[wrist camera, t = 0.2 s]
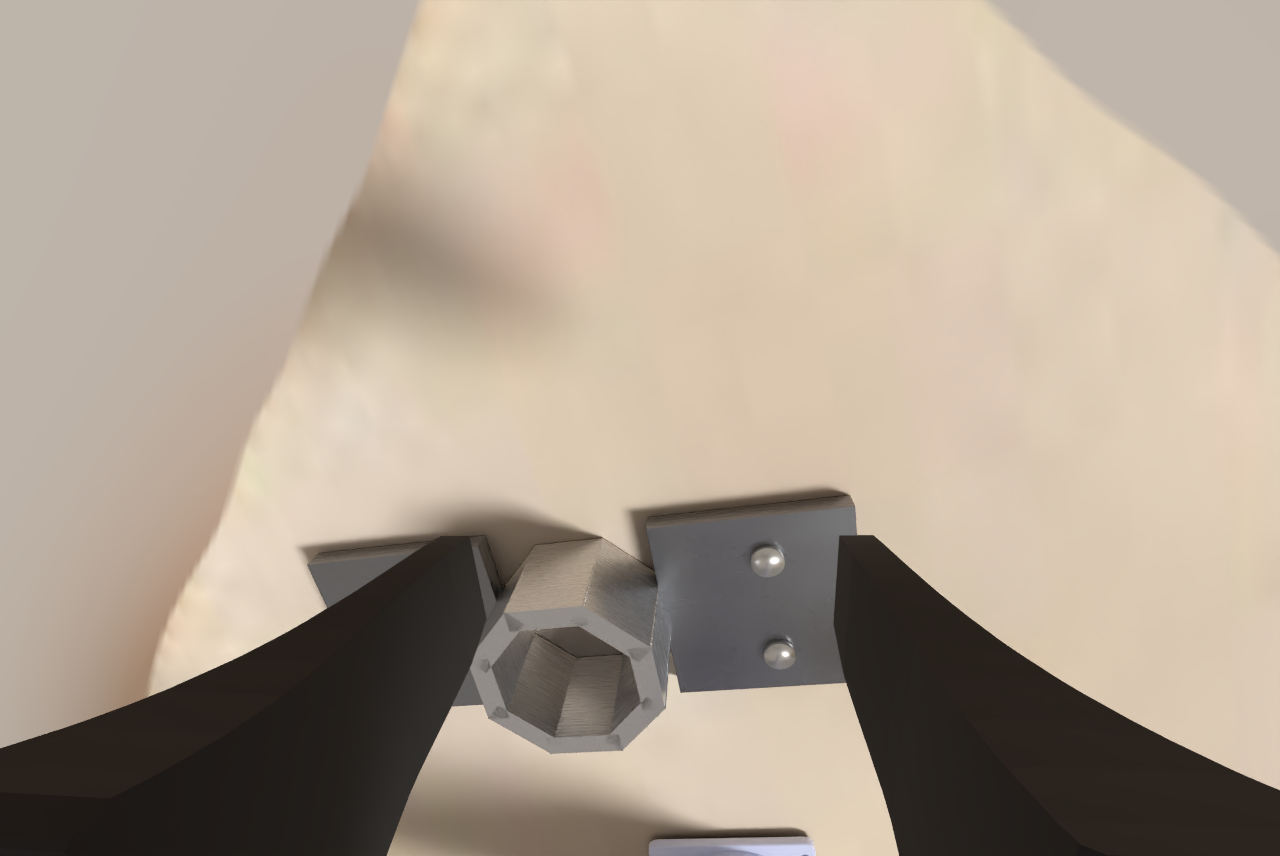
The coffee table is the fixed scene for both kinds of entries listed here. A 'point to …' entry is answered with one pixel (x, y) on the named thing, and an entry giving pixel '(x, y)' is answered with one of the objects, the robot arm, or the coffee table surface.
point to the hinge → (644, 618)
